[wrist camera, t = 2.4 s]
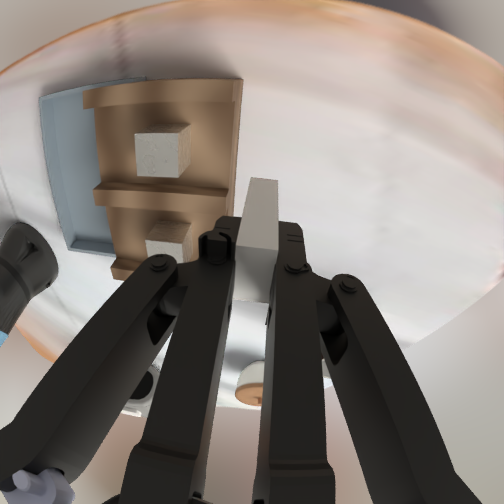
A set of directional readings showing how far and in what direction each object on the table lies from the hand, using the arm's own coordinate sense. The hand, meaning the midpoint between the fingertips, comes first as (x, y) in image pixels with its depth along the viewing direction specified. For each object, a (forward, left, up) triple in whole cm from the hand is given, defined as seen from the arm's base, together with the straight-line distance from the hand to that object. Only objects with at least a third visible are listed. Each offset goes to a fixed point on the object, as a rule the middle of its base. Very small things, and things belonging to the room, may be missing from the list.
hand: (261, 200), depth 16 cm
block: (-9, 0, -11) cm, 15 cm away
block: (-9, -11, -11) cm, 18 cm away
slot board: (-11, -6, -17) cm, 21 cm away
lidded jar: (+5, -48, -18) cm, 51 cm away
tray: (-22, -6, -17) cm, 29 cm away
